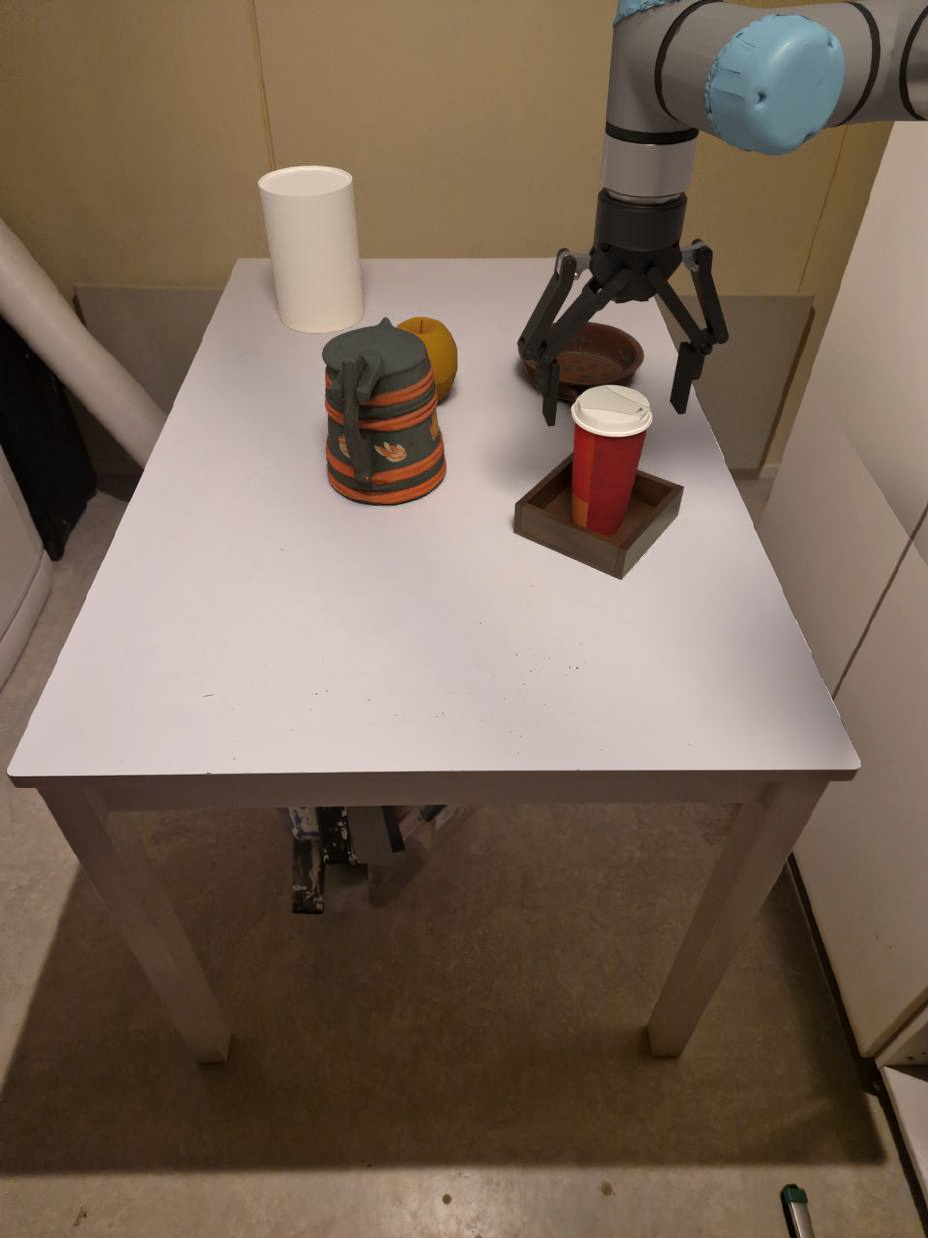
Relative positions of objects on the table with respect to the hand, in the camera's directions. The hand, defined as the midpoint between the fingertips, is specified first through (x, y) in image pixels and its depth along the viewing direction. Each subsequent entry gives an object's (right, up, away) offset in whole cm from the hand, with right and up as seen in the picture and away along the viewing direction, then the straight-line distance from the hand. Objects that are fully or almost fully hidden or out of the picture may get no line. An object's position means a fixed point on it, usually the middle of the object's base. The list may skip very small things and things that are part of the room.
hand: (613, 413), depth 84 cm
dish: (+1, +13, +34) cm, 36 cm away
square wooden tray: (0, -10, +10) cm, 14 cm away
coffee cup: (0, -10, +10) cm, 14 cm away
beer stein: (-25, -5, +16) cm, 30 cm away
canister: (-38, +28, +49) cm, 69 cm away
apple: (-21, +9, +30) cm, 38 cm away
